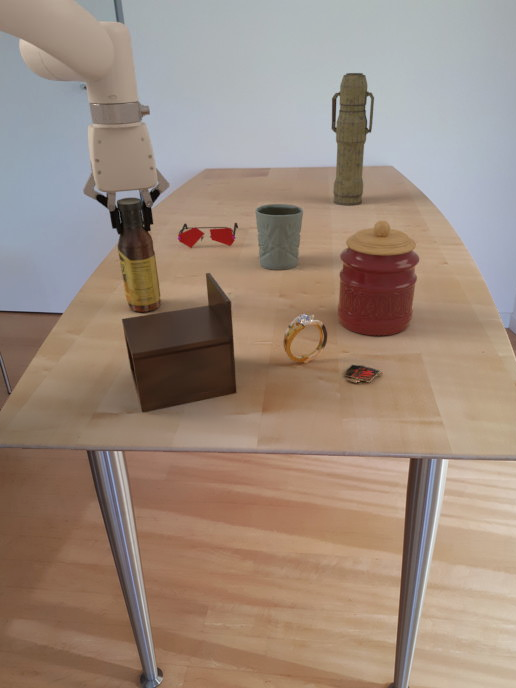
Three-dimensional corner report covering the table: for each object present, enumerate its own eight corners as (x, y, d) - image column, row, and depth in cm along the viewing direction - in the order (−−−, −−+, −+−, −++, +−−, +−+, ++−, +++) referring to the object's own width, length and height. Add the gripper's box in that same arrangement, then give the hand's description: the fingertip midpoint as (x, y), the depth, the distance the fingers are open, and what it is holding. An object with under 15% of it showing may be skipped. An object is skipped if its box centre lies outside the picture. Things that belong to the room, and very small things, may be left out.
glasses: (178, 249, 131) (175, 228, 129) (186, 229, 146) (184, 210, 143) (236, 248, 132) (235, 227, 129) (238, 228, 146) (237, 209, 143)
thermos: (329, 197, 174) (334, 72, 156) (367, 199, 172) (376, 72, 154) (326, 204, 166) (331, 74, 148) (365, 206, 165) (375, 74, 147)
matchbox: (349, 365, 83) (349, 362, 83) (383, 370, 81) (383, 368, 81) (342, 381, 79) (342, 378, 79) (377, 386, 78) (377, 384, 77)
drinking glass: (247, 263, 122) (245, 209, 116) (279, 252, 128) (279, 200, 122) (280, 274, 116) (279, 218, 110) (311, 262, 122) (312, 208, 116)
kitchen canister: (427, 326, 94) (441, 224, 85) (367, 344, 89) (375, 238, 80) (379, 300, 104) (388, 206, 95) (322, 315, 99) (326, 217, 90)
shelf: (142, 412, 73) (125, 317, 66) (131, 373, 82) (115, 285, 75) (236, 392, 77) (231, 301, 70) (216, 357, 86) (209, 272, 79)
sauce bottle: (133, 300, 105) (116, 194, 95) (165, 300, 105) (152, 194, 95) (123, 314, 100) (104, 204, 89) (157, 314, 99) (142, 204, 89)
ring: (288, 371, 82) (288, 323, 78) (280, 361, 84) (279, 314, 80) (330, 362, 84) (332, 315, 80) (321, 353, 87) (322, 306, 82)
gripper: (165, 110, 91) (177, 220, 100) (59, 115, 86) (81, 230, 95) (174, 114, 85) (185, 231, 94) (60, 120, 80) (84, 242, 89)
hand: (133, 229), depth 95 cm, fingers closed on sauce bottle, 4 cm apart
